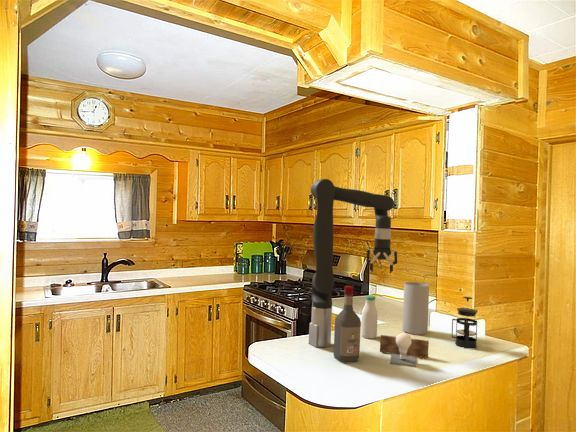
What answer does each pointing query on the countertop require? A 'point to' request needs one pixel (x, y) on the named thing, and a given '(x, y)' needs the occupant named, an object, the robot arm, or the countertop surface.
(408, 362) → the mat
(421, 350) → the brown wooden block
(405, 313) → the cylinder vase
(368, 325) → the milk bottle
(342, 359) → the liquor
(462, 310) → the french press
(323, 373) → the countertop surface
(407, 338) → the lightbulb
